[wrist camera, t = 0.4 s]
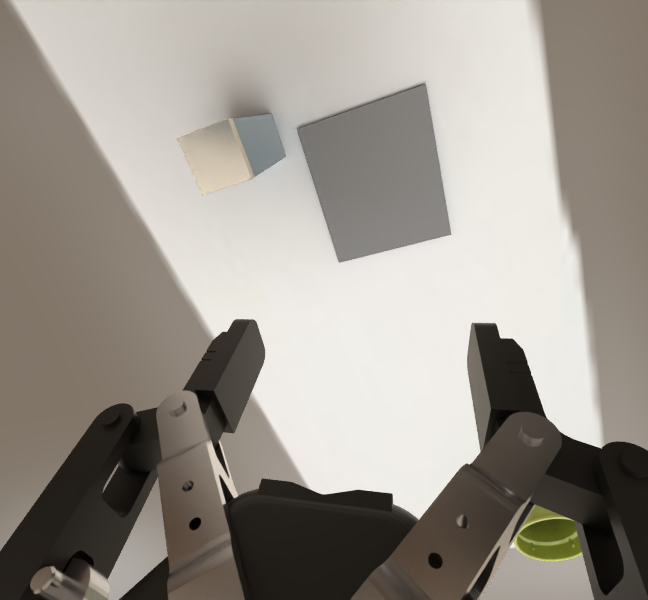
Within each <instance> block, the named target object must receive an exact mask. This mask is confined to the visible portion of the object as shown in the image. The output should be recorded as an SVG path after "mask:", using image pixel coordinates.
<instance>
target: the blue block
mask: <svg viewBox="0 0 648 600" xmlns="http://www.w3.org/2000/svg"><path fill="white" fill-rule="evenodd" d="M177 140H178V143H179V145H180V147H181V149H182V152H183V154H184V156H185V158H186V160H187V163H188V165H189V167H190V169H191V171H192V174H193V176H194V178H195V180H196V183H197V185H198V187H199V189H200V191H201V194H202V195H204V194H208V193H211V192H214V191H217V190H220V189H223V188H226V187H229V186H232V185H235V184H238V183H241V182H244V181H247V180H250V179H253V178H254V177H255V176H257V175H258V174H260V173H261V172H263V171H264V170H266V169H267V168H269V167H271V166H272V165H274V164H275V163H277V162H278V161H280V160H281V159H283V158H284V157H286V155H285V152H284V149H283V146H282V143H281V140H280V137H279V134H278V131H277V129H276V126H275V123H274V120H273V117H272V114H264V115H256V116H248V117H241V118H233V119H232V118H230V119H226V120H223V121H221V122H218V123H215V124H213V125H210V126H208V127H205V128H202V129H200V130H197V131H194V132H192V133H189V134H186V135H184V136H181V137H178V138H177Z"/></svg>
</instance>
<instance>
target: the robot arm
mask: <svg viewBox="0 0 648 600" xmlns="http://www.w3.org/2000/svg"><path fill="white" fill-rule="evenodd" d="M264 360H265V348H264V344H263V341H262V338H261V335H260V332H259V329H258V326H257V323H256V321H255V320H248V319H236V320H234V321H233V323H232V325H231V326H230V328H229V330H228V331H227V332H222V333H221V334H220V335H219V336H217V337H216V338H215V339H214V340H213V341H212V343H211V344H210V346H209V348H208V349H207V353H205V354H204V356H203V357H202V361H200V362H199V364H198V366H197V367H196V369H195V371H194V372H193V374H192V376H191V377H190V379H189V381H188V382H187V384H186V386H185V387H184V389H183V390H182V391H179V392H176V393H173V394H171V395H170V396H168V397H167V398H166V399H164V400H163V401H162V402H161V404H160V405H159V407H157V408H153V409H148V410H144V411H139V412H135V411H134V409H133V408H132V406H130V405H129V404H124V403H123V404H117V405H113V406H111V407H109V408H107V409H106V410H104V411H103V412H101V413H100V414H99V415H98V416H97V417H96V418H95V420H94V421H93V422H92V424H91V425H90V427H89V428H88V429H87V431H86V432H85V434H84V435H83V436H82V438H81V439H80V441H79V442H78V443H77V445H76V446H75V448H74V449H73V450H72V452H71V453H70V455H69V456H68V457H67V459H66V460H65V462H64V463H63V464H62V466H61V467H60V469H59V470H58V472H57V473H56V474H55V476H54V477H53V478H52V480H51V481H50V483H49V484H48V485H47V487H46V489H45V490H44V491H43V492H42V494H41V495H40V497H39V498H38V499H37V501H36V502H35V504H34V505H33V506H32V508H31V509H30V511H29V512H28V513H27V515H26V516H25V517H24V519H23V520H22V522H21V523H20V524H19V526H18V527H17V529H16V530H15V532H14V533H13V534H12V536H11V537H10V539H9V540H8V541H7V543H6V544H5V545H4V547H3V548H2V550H1V551H0V600H108V597H109V591H110V586H109V581H108V577H109V575H110V573H111V571H112V569H113V567H114V565H115V563H116V561H117V559H118V557H119V555H120V553H121V551H122V549H123V547H124V545H125V543H126V541H127V539H128V536H129V534H130V532H131V530H132V528H133V526H134V524H135V522H136V520H137V518H138V516H139V514H140V512H141V510H142V508H143V506H144V504H145V502H146V499H147V497H148V496H149V493H150V491H151V489H152V487H153V485H154V483H155V481H156V479H157V477H158V481H159V489H160V497H161V505H162V513H163V521H164V529H165V537H166V546H167V554H168V556H167V557H166V558H165V559H164V560H163V561H162V562H161V563H159V564H158V565H157V566H156V567H155V568H154V569H153V570H152V571H151V572H149V573H148V574H147V575H146V576H145V577H144V578H143V579H142V580H140V581H139V582H138V583H137V584H136V585H135V586H134V587H133V588H132V589H130V590H129V591H128V592H127V593H126V594H125V595H124V596H123V597H122V598H120V599H119V600H479V599H480V598H481V596H482V595H483V593H484V591H485V590H486V588H487V587H488V585H489V583H490V582H491V580H492V578H493V577H494V575H495V573H496V571H497V570H498V568H499V566H500V564H501V562H502V560H503V558H504V557H505V555H506V553H507V551H508V549H509V548H510V546H511V544H512V543H513V541H514V539H515V538H516V536H517V535H518V533H519V531H520V530H521V528H522V526H523V525H524V523H525V522H526V520H527V518H528V517H529V515H530V513H531V512H532V510H533V509H534V507H535V505H538V506H540V507H543V508H545V509H547V510H550V511H552V512H555V513H557V514H559V515H562V516H564V517H567V518H569V519H571V520H574V523H575V527H576V530H577V534H578V538H579V542H580V546H581V550H582V554H583V557H584V561H585V565H586V568H587V573H588V576H589V581H590V584H591V588H592V592H593V596H594V600H648V451H647V450H646V449H644V448H642V447H640V446H637V445H635V444H631V443H627V442H611V443H608V444H606V445H605V446H604V447H602V449H601V448H598V447H595V446H592V445H589V444H586V443H583V442H580V441H577V440H574V439H572V438H570V437H568V436H566V435H564V434H562V433H561V432H559V430H558V429H557V428H556V426H555V425H554V424H553V423H552V422H550V421H549V420H548V419H547V418H546V415H545V413H544V410H543V407H542V404H541V401H540V398H539V395H538V392H537V389H536V386H535V383H534V380H533V377H532V376H531V371H530V368H529V365H528V364H527V363H528V362H527V359H526V357H525V354H524V351H523V349H522V348H521V347H520V346H519V345H518V344H517V343H516V342H515V341H514V340H513V339H501V338H500V336H499V332H498V329H497V325H496V324H495V323H472V325H471V331H470V339H469V347H468V356H467V367H468V375H469V381H470V388H471V394H472V400H473V406H474V413H475V419H476V425H477V431H478V438H479V444H480V450H481V452H480V454H479V455H478V456H477V458H476V459H475V460H474V461H473V462H472V463H471V464H470V465H469V464H465V465H463V466H462V467H461V468H460V469H459V471H458V472H457V473H456V474H455V476H454V477H453V478H452V479H451V481H450V482H449V483H448V484H447V486H446V487H445V488H444V489H443V491H442V492H441V493H440V494H439V496H438V497H437V498H436V499H435V501H434V502H433V503H432V504H431V506H430V507H429V508H428V509H427V511H426V512H425V513H424V514H423V516H422V517H421V518H420V519H419V520H418V519H417V518H416V517H415V516H413V515H412V514H411V513H409V512H408V511H406V510H404V509H403V508H401V507H399V506H396V505H394V504H393V495H392V494H390V493H381V492H373V491H364V490H354V491H347V492H340V493H334V494H327V495H323V494H319V493H317V492H314V491H312V490H310V489H307V488H305V487H302V486H300V485H298V484H295V483H293V482H287V481H278V480H270V479H262V480H261V483H260V486H259V489H255V490H252V491H249V492H246V493H244V494H241V495H239V496H238V494H237V492H236V489H235V487H234V484H233V481H232V478H231V474H230V471H229V468H228V464H227V462H226V458H225V455H224V451H223V448H222V445H221V442H220V438H221V435H222V433H223V432H227V433H234V432H235V430H236V427H237V425H238V423H239V420H240V418H241V415H242V413H243V411H244V409H245V406H246V404H247V401H248V399H249V397H250V394H251V392H252V390H253V387H254V385H255V382H256V380H257V378H258V375H259V373H260V370H261V368H262V366H263V363H264ZM117 464H118V465H119V466H118V468H117V470H116V472H115V474H114V475H113V477H112V478H111V480H110V482H109V483H108V485H107V487H106V489H105V490H104V492H103V488H104V486H105V484H106V482H107V480H108V478H109V477H110V475H111V474H112V472H113V470H114V468H115V467H116V465H117ZM102 493H103V494H102Z"/></svg>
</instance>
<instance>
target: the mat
mask: <svg viewBox="0 0 648 600" xmlns="http://www.w3.org/2000/svg"><path fill="white" fill-rule="evenodd" d="M297 131H298V134H299V137H300V141H301V144H302V147H303V150H304V153H305V156H306V160H307V163H308V166H309V169H310V172H311V175H312V179H313V182H314V185H315V188H316V191H317V194H318V198H319V201H320V204H321V207H322V210H323V213H324V216H325V220H326V223H327V226H328V229H329V232H330V235H331V239H332V242H333V245H334V248H335V251H336V254H337V258H338V261H339V263H340V262H344V261H348V260H352V259H356V258H360V257H364V256H368V255H372V254H376V253H380V252H384V251H388V250H391V249H395V248H399V247H403V246H407V245H411V244H415V243H419V242H423V241H427V240H431V239H435V238H439V237H443V236H447V235H451V230H450V225H449V219H448V213H447V207H446V201H445V195H444V189H443V183H442V177H441V171H440V165H439V159H438V153H437V148H436V142H435V136H434V130H433V124H432V118H431V112H430V106H429V100H428V94H427V88H426V84H424V85H421V86H419V87H416V88H413V89H410V90H407V91H404V92H401V93H399V94H396V95H393V96H390V97H387V98H384V99H382V100H379V101H376V102H373V103H370V104H367V105H364V106H362V107H359V108H356V109H353V110H350V111H347V112H344V113H342V114H339V115H336V116H333V117H330V118H327V119H325V120H322V121H319V122H316V123H313V124H310V125H307V126H305V127H302V128H299V129H297Z"/></svg>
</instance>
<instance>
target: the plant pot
mask: <svg viewBox="0 0 648 600" xmlns="http://www.w3.org/2000/svg"><path fill="white" fill-rule="evenodd" d="M514 544H515V547H516V548H517V549H518V550H519V551H520V552H521V553H522V554H523V555H525V556H527V557H530V558H533V559H537V560H542V561H561V560H566V559H572V558H574V557H577V556H579V555H582V550H581V546H580V542H579V538H578V534H577V530H576V527H575V523H574V520H571V519H569V518H567V517H564V516H562V515H559V514H557V513H555V512H552V511H550V510H547V509H545V508H543V507H540V506H538V505H535V507H534V509H533V510H532V512H531V513H530V515H529V517H528V518H527V520H526V522H525V523H524V525H523V526H522V528H521V530H520V531H519V533H518V535H517V536H516V538H515V539H514Z"/></svg>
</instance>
